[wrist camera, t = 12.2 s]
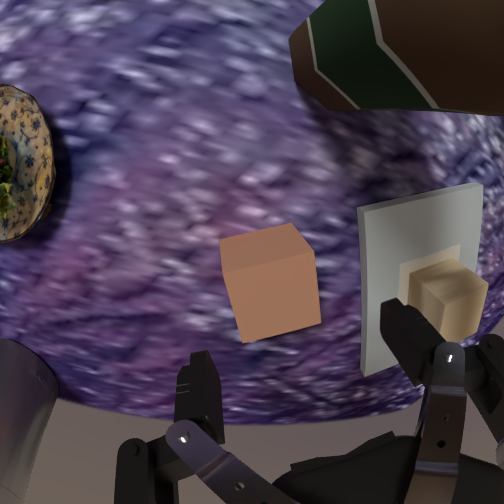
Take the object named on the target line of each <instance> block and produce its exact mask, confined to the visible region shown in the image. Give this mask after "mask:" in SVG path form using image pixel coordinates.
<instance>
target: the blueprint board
mask: <svg viewBox="0 0 504 504" xmlns="http://www.w3.org/2000/svg"><path fill="white" fill-rule="evenodd" d="M482 204H483V185H481V184H478V183H476V182H472V183H467V184H462V185H458V186H453V187H448V188H443V189H439V190H434V191H429V192H424V193H420V194H415V195H411V196H406V197H401V198H397V199H392V200H388V201H383V202H379V203H374V204H370V205H365V206H361V207H357V217H358V230H359V245H360V265H361V306H362V323H361V362H360V370H361V371H362V373H363V375H364V377H366V376H369V375H371V374H374V373H377V372H379V371H382V370H384V369H387V368H389V367H392V366H394V365H396V364H399V362H398V361H397V359H396V358H395V356H394V355H393V353H392V352H391V350H390V349H389V347H388V346H387V345H386V343H385V342H384V340H383V338H382V336H381V333H380V305H381V303H382V302H384V301H387V300H390V299H393V298H398V299H399V300H400V301H401V302H402V303H403V305H404V306H405V305H407V302H408V288H409V273H411V272H414V271H417V270H420V269H422V268H425V267H428V266H431V265H433V264H436V263H439V262H441V261H444V260H447V259H449V258H454V259H455V260H457V261H458V262H459V263H461V264H462V265H464V266H465V267H467V268H468V269H469V270H471V271H472V272H473V273H475V270H476V263H477V257H478V249H479V241H480V231H481V220H482Z"/></svg>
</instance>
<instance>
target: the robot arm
mask: <svg viewBox="0 0 504 504" xmlns="http://www.w3.org/2000/svg"><path fill="white" fill-rule="evenodd" d="M380 333H381V336H382V338H383V340H384V342H385V343H386V345H387V346H388V347H389V349H390V350H391V352H392V353H393V355H394V356H395V358H396V359H397V361H398V362H399V364H400V365H401V367H402V368H403V370H404V371H405V373H406V375H407V376H408V378H409V379H410V381H411V382H412V384H413V385H414V387H416V386H418V385H421V384H423V385H424V387H425V389H424V394H423V399H422V405H421V409H420V414H419V418H418V423H417V427H416V430H415V433H414V436H406V435H405V436H404V435H403V436H395V435H394V433H393V431H390V432H388V433H385V434H383V435H381V436H378V437H376V438H373V439H370V440H368V441H367V442H365V443H364V444H362V445H360V446H359V447H357V448H356V449H354V450H352V451H351V452H349V453H347V454H345V455H341V456H330V457H316V458H313V459H309V460H305V461H302V462H298V463H293V464H291V465H290V466H291V471H289V472H287V473H285V474H283V475H282V476H281V477H279V478H278V479H276V480H275V481H274V482H273V483H272V484H271V483H269V482H268V481H267V480H265V479H264V478H263V477H261V476H260V475H259V474H257V473H256V472H255V471H253V470H252V469H251V468H250V467H248V466H247V465H246V464H244V463H243V462H242V461H241V460H239V459H238V458H237V457H236V456H235V455H233V454H232V453H230V452H227V451H225V450H224V449H223V448H222V447H221V446H219V445H220V444H225V437H224V423H223V409H222V394H221V382H220V377H219V374H218V371H217V369H216V367H215V365H214V363H213V360H212V358H211V356H210V354H209V352H208V350H204V351H200V352H195V353H191V355H190V365H188V366H182V368H181V370H180V372H179V374H178V375H177V387H176V399H175V413H174V423H173V424H172V425H171V426H170V427H169V428H168V430H167V432H166V434H165V435H164V436H162V437H160V438H157V439H155V440H152V441H149V442H147V443H145V442H144V441H143V440H141V439H138V438H133V439H129V440H127V441H125V442H124V443H123V444H122V445H121V446H120V448H119V450H118V455H117V466H116V478H115V493H114V504H179V495H178V481H179V480H181V479H184V478H187V477H189V476H192V475H194V474H196V475H197V476H198V477H199V478H200V479H201V480H202V481H203V482H204V483H205V484H206V485H207V486H208V487H209V488H210V489H211V490H212V491H213V492H214V493H215V494H217V496H219V498H221V499H222V500H223V501H224V502H225V503H226V504H504V340H503V338H502V337H500V336H498V335H496V334H487V335H484V336H483V337H482V338H481V339H480V342H479V345H475V346H470V347H464V348H463V347H462V346H461V345H459V344H458V343H455V342H447V341H446V340H445V339H444V338H443V337H442V336H441V334H440V333H439V332H438V331H437V330H436V329H435V328H434V326H433V325H432V324H431V323H430V322H429V321H428V320H427V319H426V318H425V317H424V315H423V314H422V313H421V312H420V311H419V310H418V309H417V308H415V307H413V306H411V305H409V304H408V305H405V306H404V305H403V303H402V302H401V301H400V300H399V299H398V298H393V299H390V300H387V301H384V302H382V303H381V305H380ZM58 393H59V387H58V383H57V381H56V378H55V376H54V375H53V373H52V372H51V370H50V369H49V368H48V367H47V365H46V364H45V363H44V362H43V361H42V360H41V359H40V358H39V357H38V356H37V355H35V354H34V353H33V352H32V351H30V350H29V349H27V348H26V347H24V346H23V345H21V344H18V343H16V342H14V341H11V340H8V339H0V504H24V501H25V497H26V492H27V488H28V484H29V480H30V476H31V473H32V469H33V466H34V462H35V459H36V456H37V452H38V449H39V446H40V443H41V440H42V437H43V434H44V431H45V428H46V426H47V423H48V420H49V417H50V415H51V412H52V409H53V407H54V404H55V401H56V399H57V396H58ZM467 393H468V394H469V396H470V397H471V399H472V400H473V402H474V404H475V405H476V407H477V409H478V410H479V412H480V414H481V415H482V417H483V418H484V420H485V422H486V424H487V425H488V427H489V429H490V431H491V432H492V434H493V436H494V438H495V439H496V441H497V443H498V445H497V448H496V457H497V458H496V462H497V463H498V466H497V465H495V464H492V463H488V462H485V461H482V460H479V459H476V458H473V457H470V456H467V455H464V454H462V453H460V449H461V443H462V436H463V429H464V421H465V412H466V399H467Z"/></svg>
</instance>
